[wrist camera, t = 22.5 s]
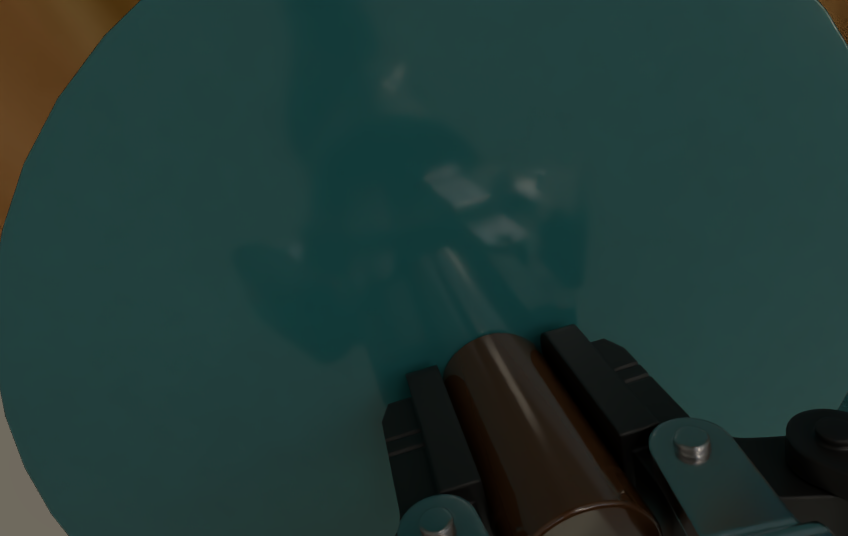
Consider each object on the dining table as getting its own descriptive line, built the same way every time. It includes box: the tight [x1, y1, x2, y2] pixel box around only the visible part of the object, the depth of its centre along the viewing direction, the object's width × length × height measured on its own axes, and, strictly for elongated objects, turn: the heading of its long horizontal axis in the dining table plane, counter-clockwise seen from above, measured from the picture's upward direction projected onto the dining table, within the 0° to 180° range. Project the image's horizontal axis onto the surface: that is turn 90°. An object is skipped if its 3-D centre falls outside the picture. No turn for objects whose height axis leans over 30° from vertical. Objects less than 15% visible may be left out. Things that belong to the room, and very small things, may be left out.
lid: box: [0, 0, 848, 536], centre depth 12 cm, size 20×20×6 cm
